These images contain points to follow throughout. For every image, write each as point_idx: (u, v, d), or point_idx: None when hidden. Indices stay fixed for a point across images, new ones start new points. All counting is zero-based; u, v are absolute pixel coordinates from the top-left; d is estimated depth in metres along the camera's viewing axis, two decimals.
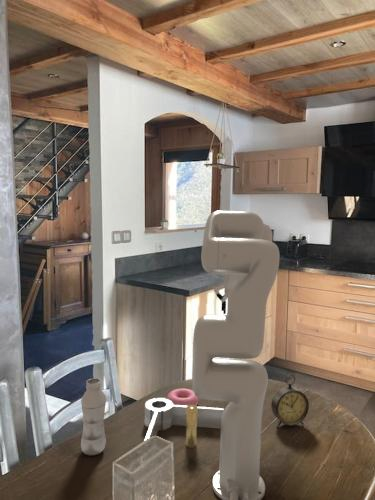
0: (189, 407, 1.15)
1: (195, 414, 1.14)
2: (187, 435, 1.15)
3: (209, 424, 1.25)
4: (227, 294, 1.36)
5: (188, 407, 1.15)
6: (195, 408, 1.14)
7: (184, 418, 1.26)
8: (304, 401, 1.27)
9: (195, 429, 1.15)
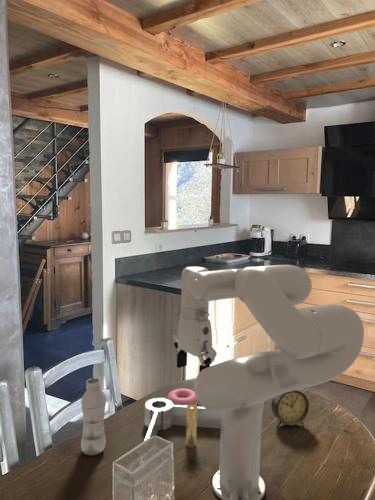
0: (189, 407, 1.15)
1: (195, 414, 1.14)
2: (187, 435, 1.15)
3: (209, 424, 1.25)
4: None
5: (188, 407, 1.15)
6: (195, 408, 1.14)
7: (184, 418, 1.26)
8: (304, 401, 1.27)
9: (195, 429, 1.15)
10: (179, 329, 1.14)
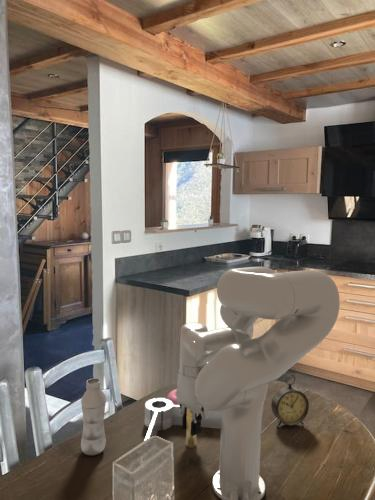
0: None
1: None
2: (187, 435, 1.15)
3: (209, 424, 1.25)
4: None
5: None
6: None
7: None
8: (304, 401, 1.27)
9: None
10: (178, 384, 1.16)
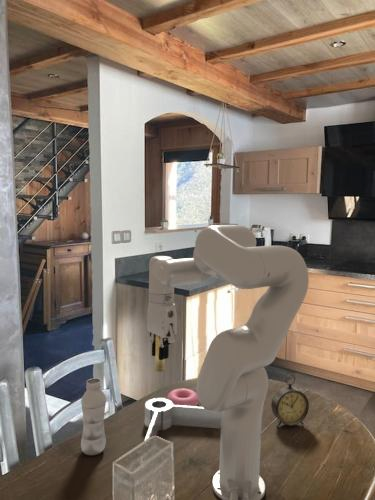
0: None
1: None
2: (156, 360, 1.24)
3: (209, 424, 1.25)
4: None
5: None
6: None
7: (184, 418, 1.26)
8: (304, 401, 1.27)
9: None
10: (148, 313, 1.24)
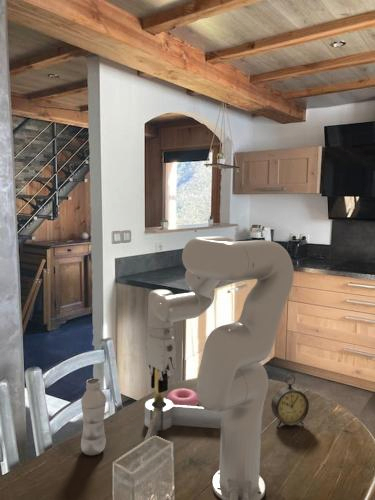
0: None
1: None
2: (155, 392, 1.25)
3: (209, 424, 1.25)
4: None
5: None
6: None
7: (184, 418, 1.26)
8: (304, 401, 1.27)
9: None
10: (147, 346, 1.26)
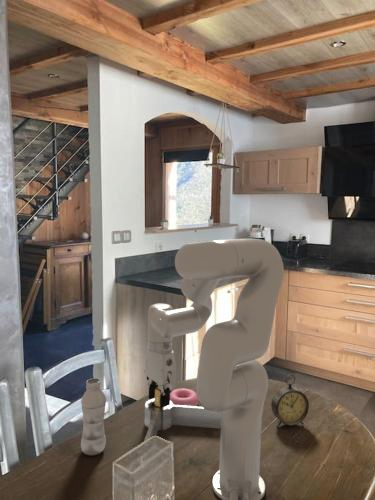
0: (157, 388, 1.26)
1: None
2: None
3: (209, 424, 1.25)
4: None
5: (156, 388, 1.26)
6: None
7: (184, 418, 1.26)
8: (304, 401, 1.27)
9: None
10: (147, 360, 1.26)
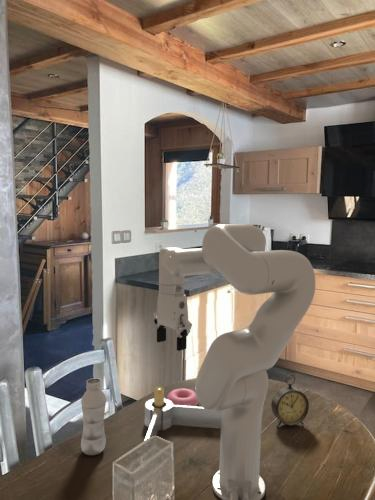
0: (156, 388, 1.26)
1: (162, 395, 1.25)
2: None
3: (209, 424, 1.25)
4: None
5: (155, 388, 1.26)
6: (161, 389, 1.25)
7: (184, 418, 1.26)
8: (304, 401, 1.27)
9: None
10: (158, 305, 1.23)
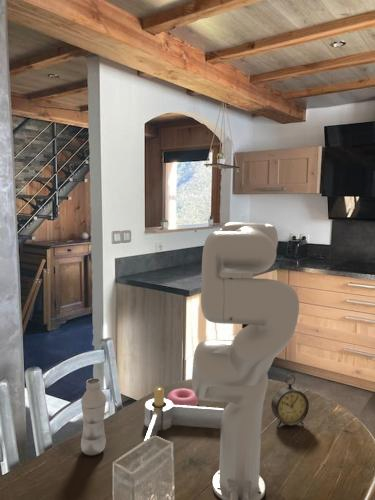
0: (156, 388, 1.26)
1: (162, 395, 1.25)
2: None
3: (209, 424, 1.25)
4: None
5: (155, 388, 1.26)
6: (161, 389, 1.25)
7: (184, 418, 1.26)
8: (304, 401, 1.27)
9: None
10: None
